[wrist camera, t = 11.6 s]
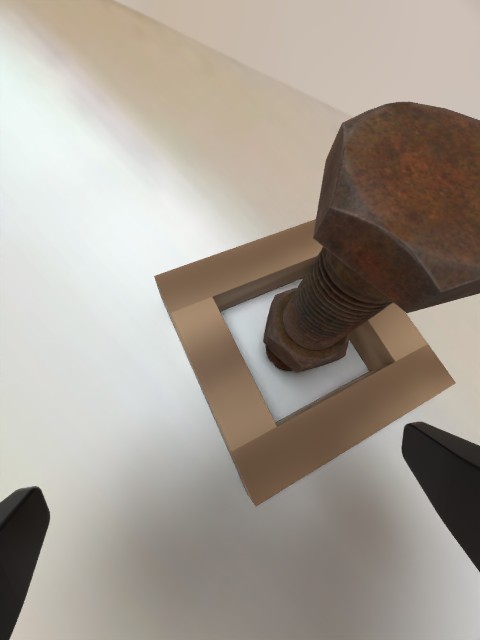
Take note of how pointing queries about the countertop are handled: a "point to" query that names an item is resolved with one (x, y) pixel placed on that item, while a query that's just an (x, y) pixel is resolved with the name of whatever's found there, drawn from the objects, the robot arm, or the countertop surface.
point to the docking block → (241, 390)
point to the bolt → (385, 230)
